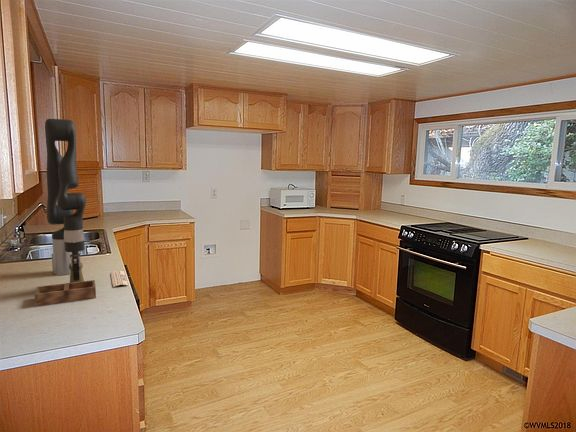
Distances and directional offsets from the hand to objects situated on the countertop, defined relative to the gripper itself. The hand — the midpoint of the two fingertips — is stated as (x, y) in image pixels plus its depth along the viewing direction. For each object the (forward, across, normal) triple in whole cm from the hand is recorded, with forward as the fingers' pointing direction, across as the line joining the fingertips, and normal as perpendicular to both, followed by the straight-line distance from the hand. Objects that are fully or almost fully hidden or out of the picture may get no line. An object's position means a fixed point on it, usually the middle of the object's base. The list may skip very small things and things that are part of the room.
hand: (76, 278), depth 168 cm
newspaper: (+5, -4, +18) cm, 19 cm away
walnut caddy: (+4, +13, -4) cm, 14 cm away
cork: (+4, 0, 0) cm, 4 cm away
